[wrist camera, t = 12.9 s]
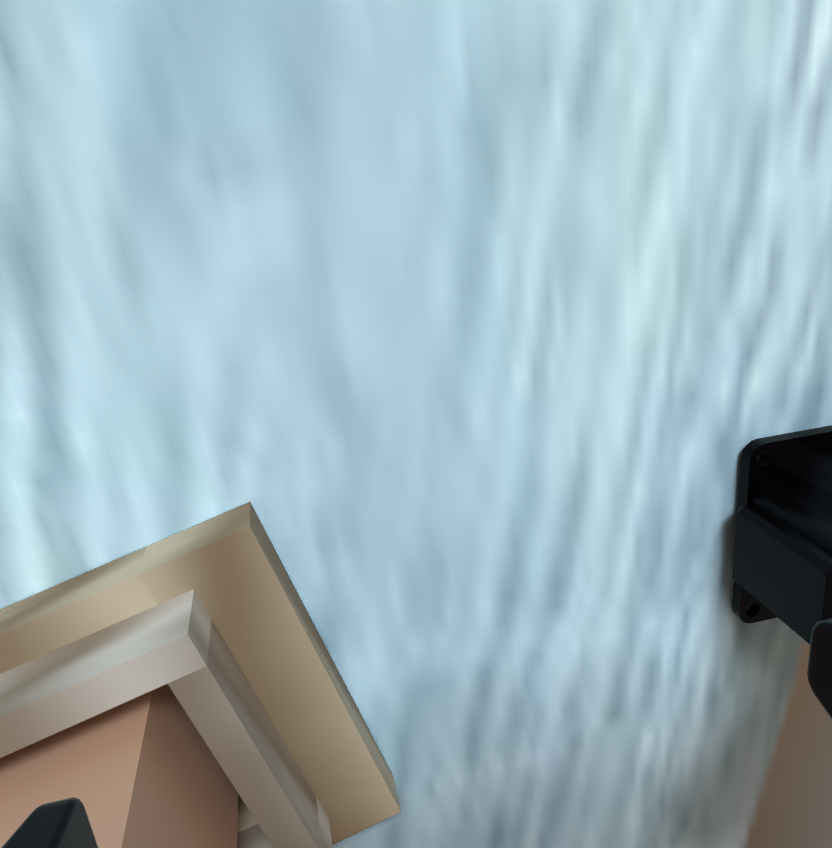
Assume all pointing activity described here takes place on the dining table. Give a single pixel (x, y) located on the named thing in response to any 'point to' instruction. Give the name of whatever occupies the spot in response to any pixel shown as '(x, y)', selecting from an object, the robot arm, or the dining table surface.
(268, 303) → the dining table surface
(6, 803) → the terracotta peg
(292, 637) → the plate
